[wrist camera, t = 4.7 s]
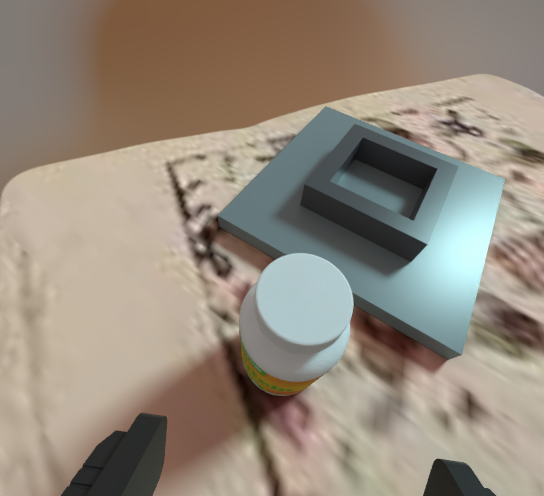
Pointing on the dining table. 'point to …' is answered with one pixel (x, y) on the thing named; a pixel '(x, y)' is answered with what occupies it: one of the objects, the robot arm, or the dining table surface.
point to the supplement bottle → (295, 323)
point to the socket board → (378, 222)
